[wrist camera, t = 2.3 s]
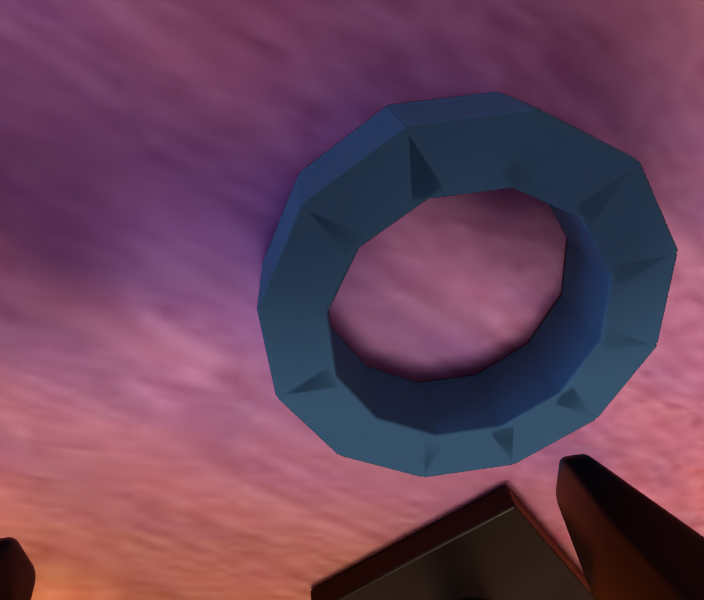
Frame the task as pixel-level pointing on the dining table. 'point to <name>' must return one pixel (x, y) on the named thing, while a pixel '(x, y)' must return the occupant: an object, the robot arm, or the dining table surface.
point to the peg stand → (467, 561)
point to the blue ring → (517, 368)
